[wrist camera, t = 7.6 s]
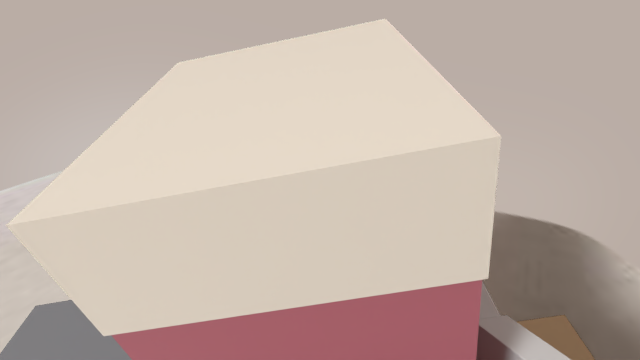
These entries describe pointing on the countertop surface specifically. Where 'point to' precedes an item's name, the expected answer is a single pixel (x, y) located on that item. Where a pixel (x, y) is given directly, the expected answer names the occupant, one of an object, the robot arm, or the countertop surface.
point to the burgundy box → (281, 208)
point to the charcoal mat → (61, 337)
